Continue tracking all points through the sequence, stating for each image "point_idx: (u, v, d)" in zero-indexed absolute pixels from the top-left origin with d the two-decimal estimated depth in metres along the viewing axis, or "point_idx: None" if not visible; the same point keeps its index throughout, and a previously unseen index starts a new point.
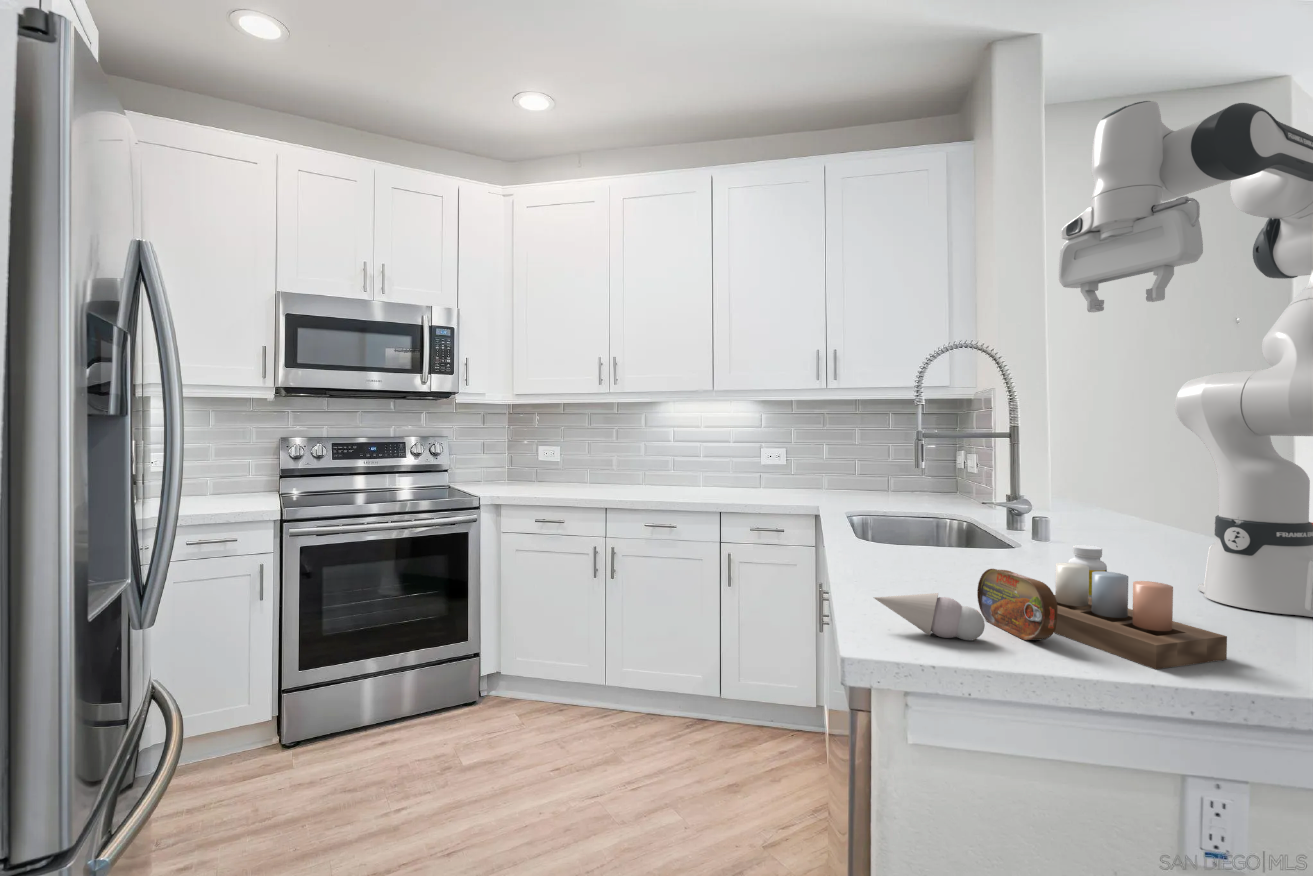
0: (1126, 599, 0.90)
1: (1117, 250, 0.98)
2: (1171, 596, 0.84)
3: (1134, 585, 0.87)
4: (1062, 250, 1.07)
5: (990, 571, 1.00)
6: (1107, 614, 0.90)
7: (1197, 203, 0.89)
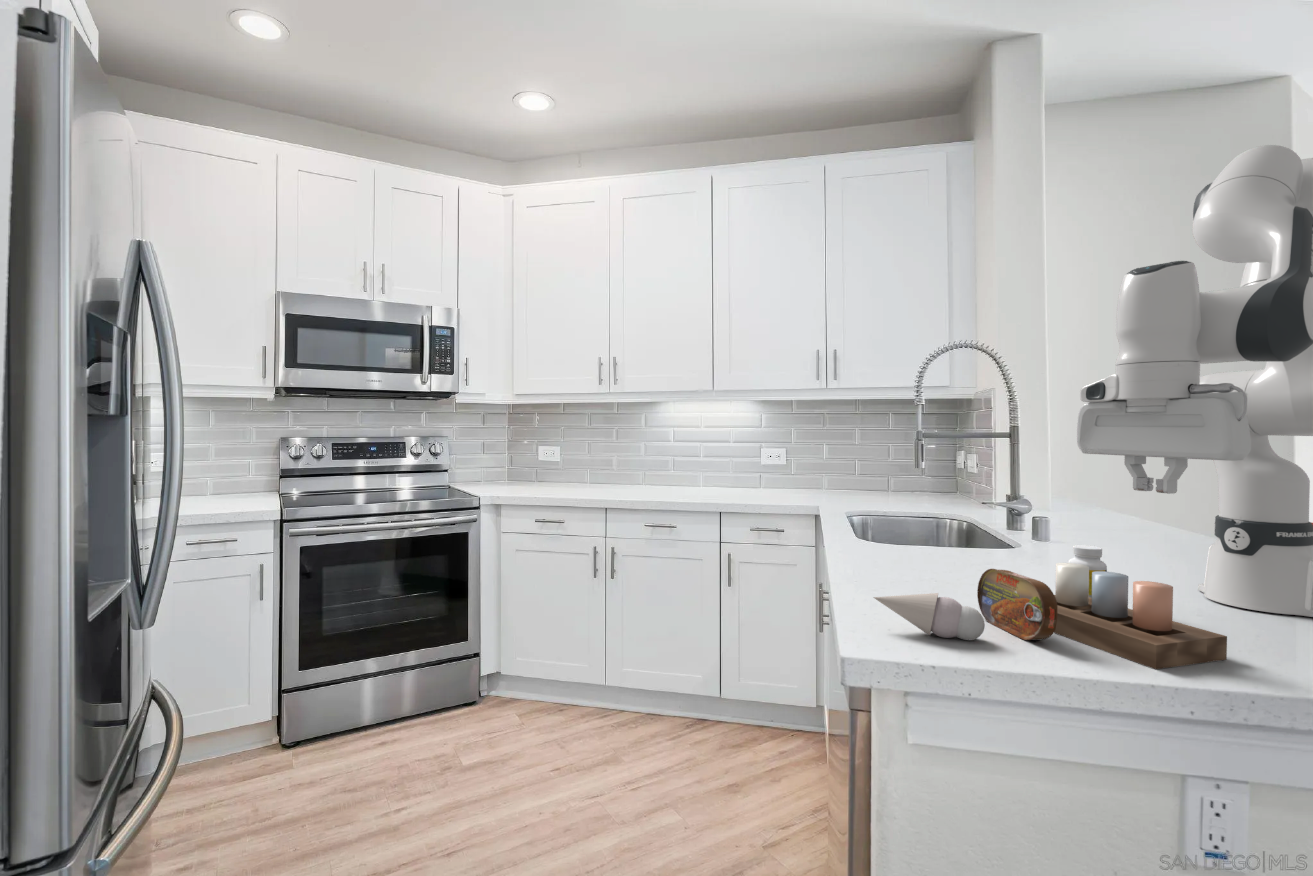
0: (1126, 599, 0.90)
1: (1147, 428, 0.85)
2: (1171, 596, 0.84)
3: (1134, 585, 0.87)
4: (1081, 412, 0.93)
5: (990, 571, 1.00)
6: (1107, 614, 0.90)
7: (1244, 395, 0.76)
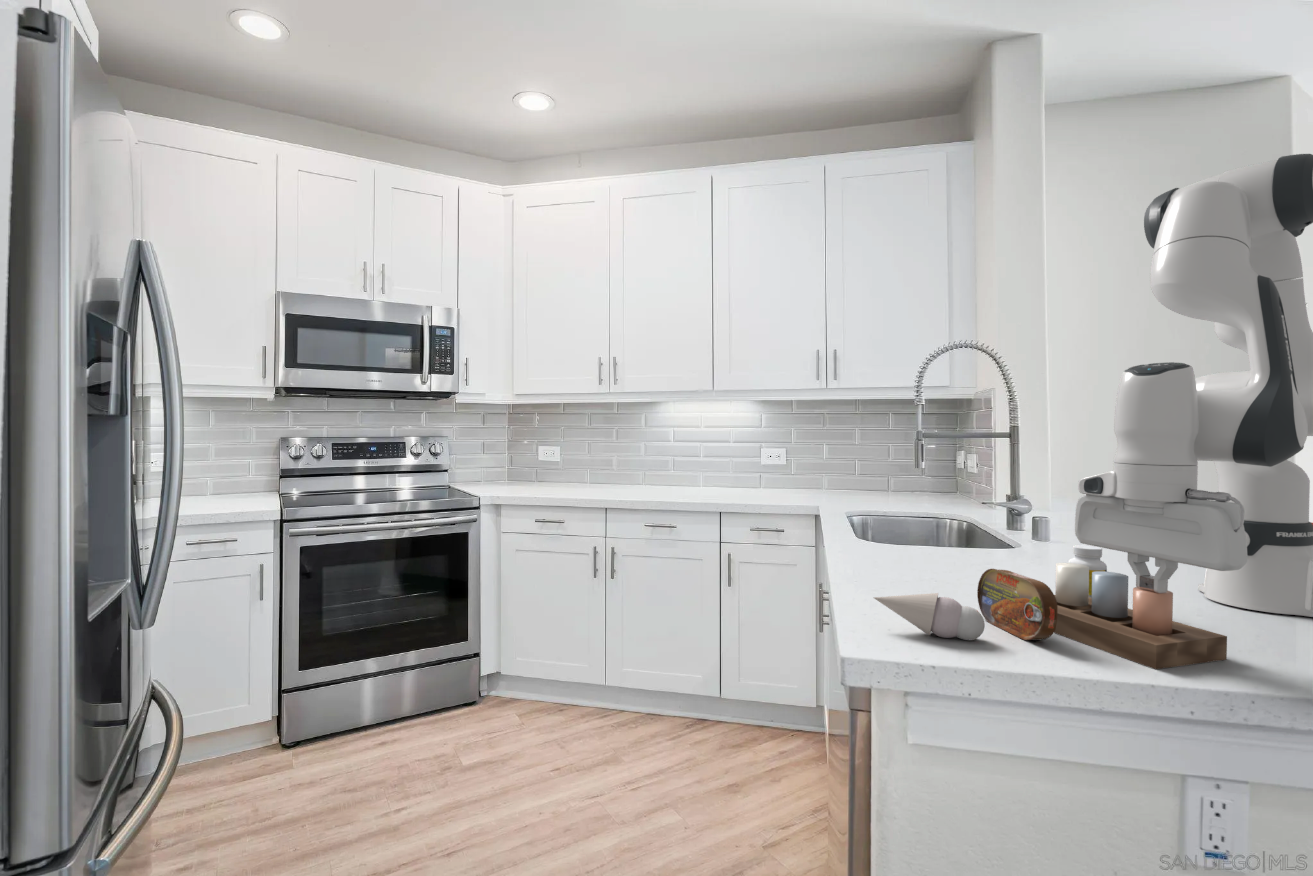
0: (1126, 599, 0.90)
1: (1144, 528, 0.85)
2: (1171, 602, 0.84)
3: (1134, 591, 0.87)
4: (1079, 503, 0.94)
5: (990, 571, 1.00)
6: (1107, 614, 0.90)
7: (1241, 507, 0.76)
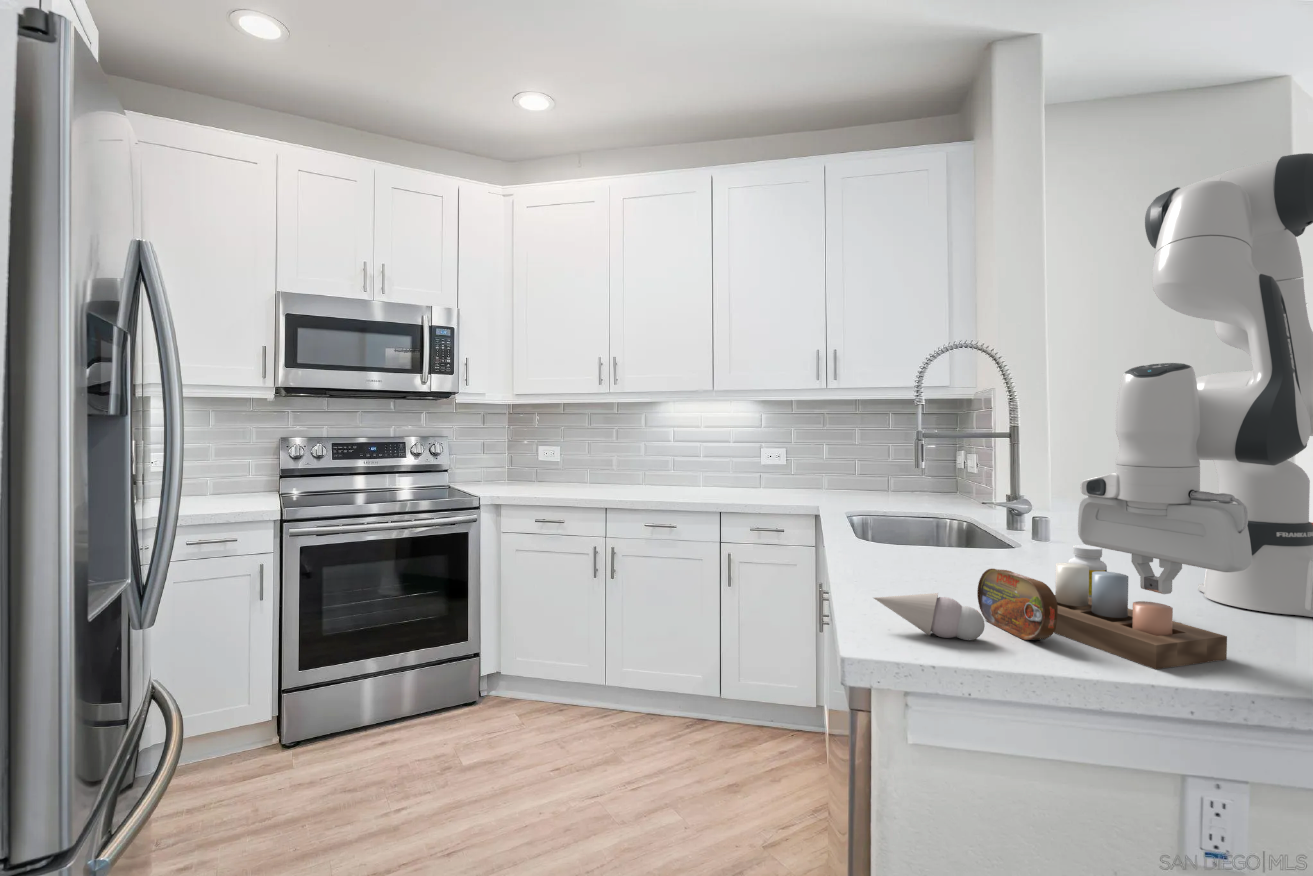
0: (1126, 599, 0.90)
1: (1147, 529, 0.85)
2: (1171, 617, 0.84)
3: (1134, 606, 0.87)
4: (1082, 504, 0.94)
5: (990, 570, 1.00)
6: (1107, 614, 0.90)
7: (1245, 508, 0.76)
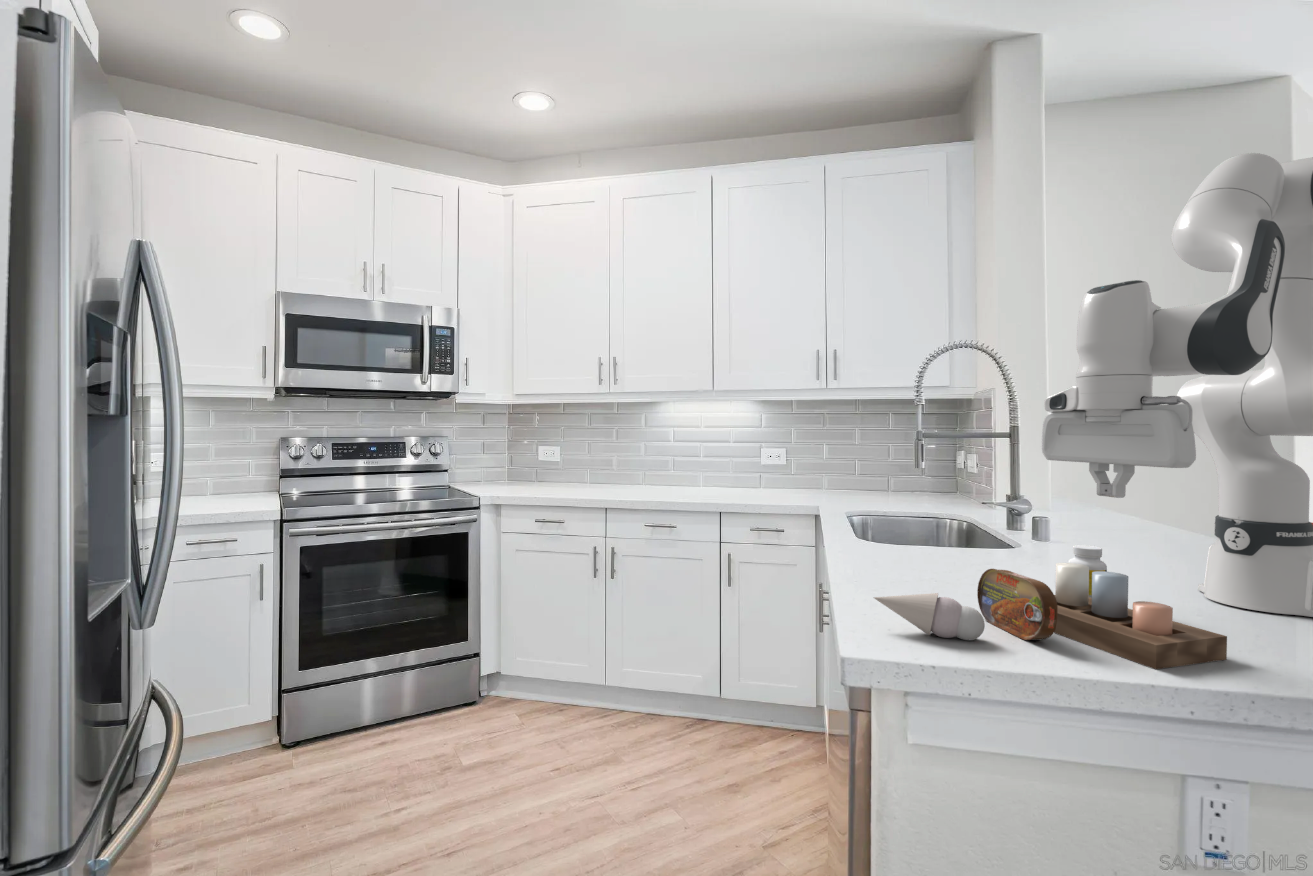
0: (1126, 599, 0.90)
1: (1103, 437, 0.91)
2: (1171, 617, 0.84)
3: (1134, 606, 0.87)
4: (1046, 421, 0.99)
5: (990, 571, 1.00)
6: (1107, 614, 0.90)
7: (1190, 407, 0.81)
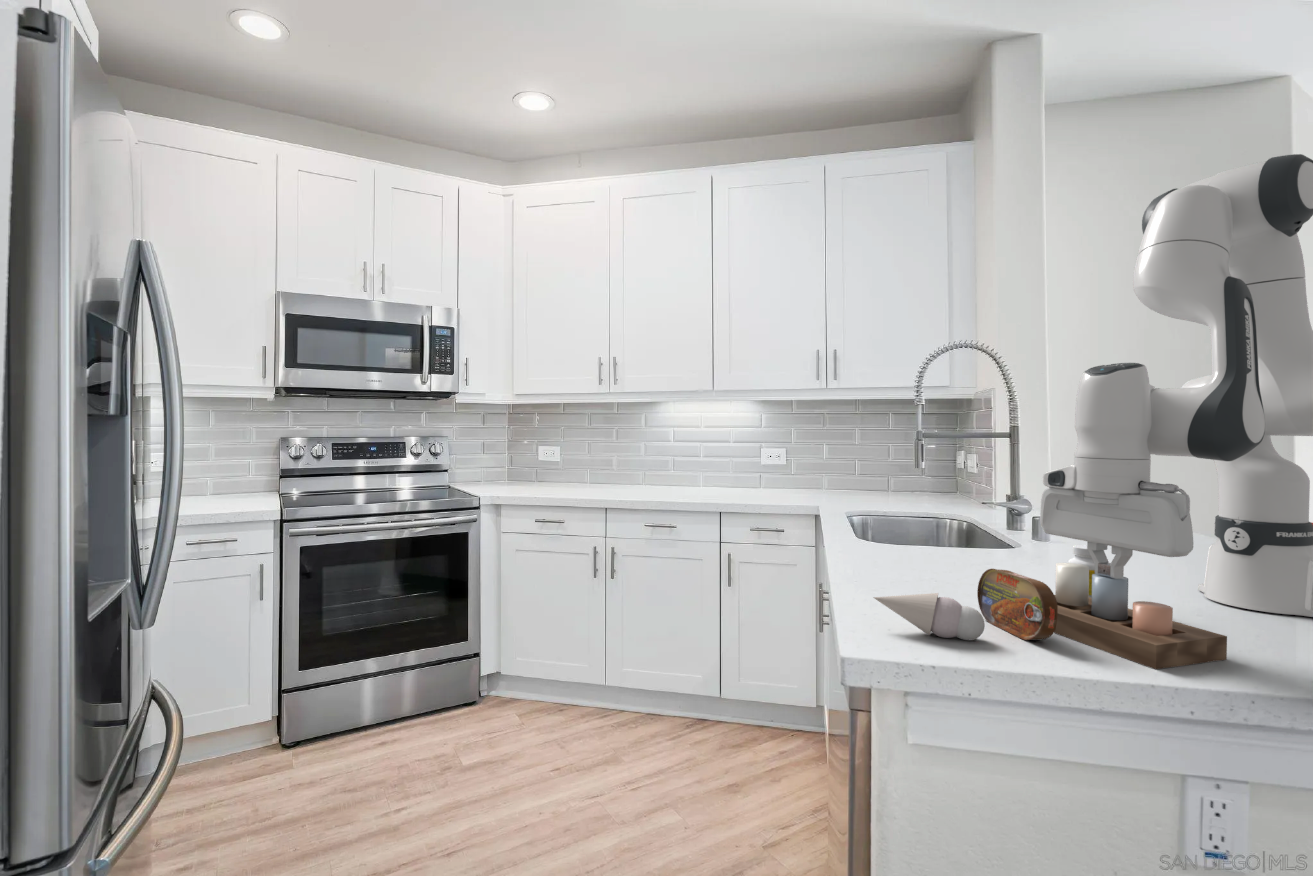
0: (1126, 601, 0.90)
1: (1101, 518, 0.91)
2: (1171, 617, 0.84)
3: (1134, 606, 0.87)
4: (1044, 495, 0.99)
5: (990, 571, 1.00)
6: (1107, 616, 0.90)
7: (1187, 497, 0.82)
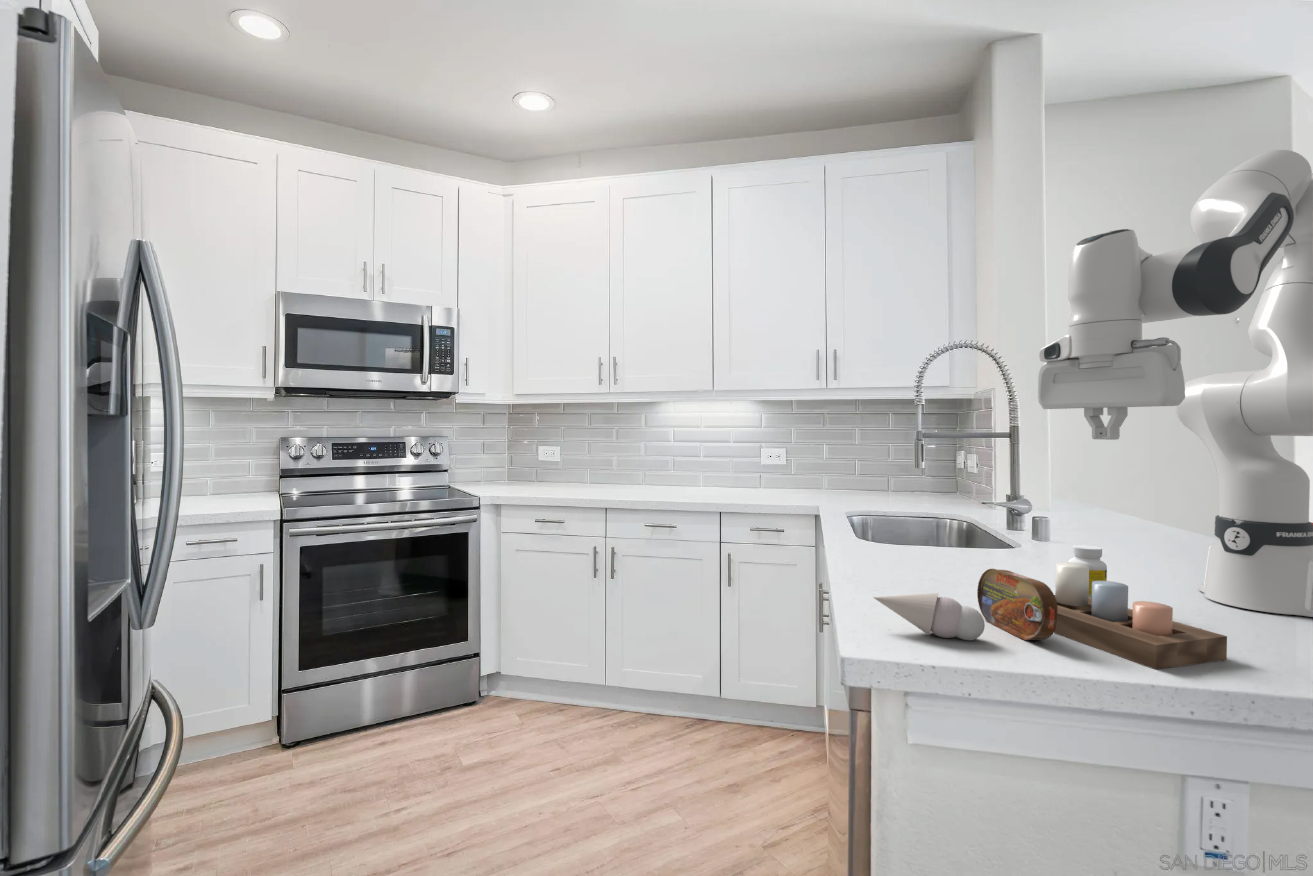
0: (1126, 609, 0.90)
1: (1097, 382, 0.94)
2: (1171, 617, 0.84)
3: (1134, 606, 0.87)
4: (1041, 371, 1.03)
5: (990, 571, 1.00)
6: None
7: (1178, 347, 0.85)
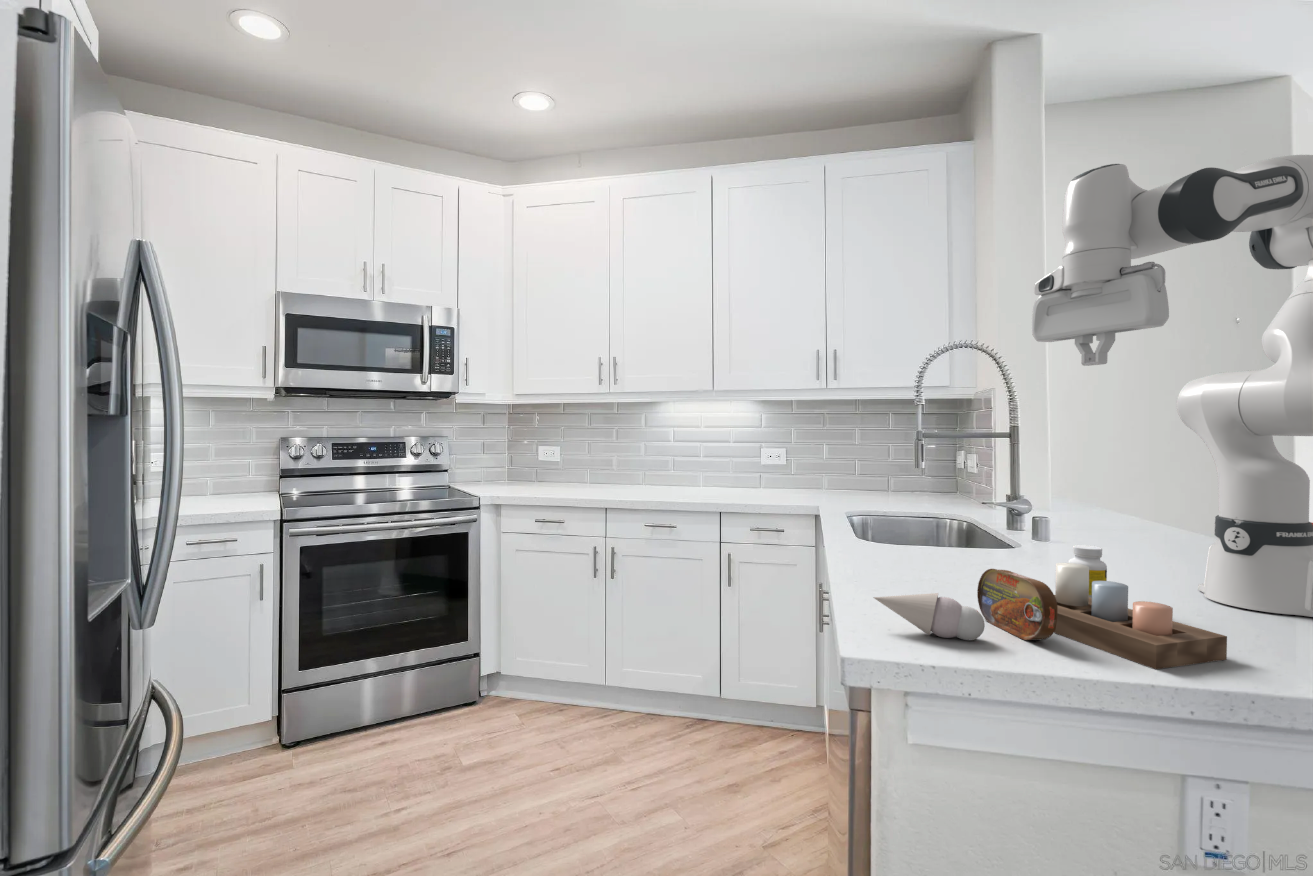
0: (1126, 609, 0.90)
1: (1087, 309, 1.00)
2: (1171, 617, 0.84)
3: (1134, 606, 0.87)
4: (1035, 305, 1.08)
5: (990, 571, 1.00)
6: None
7: (1163, 269, 0.90)
